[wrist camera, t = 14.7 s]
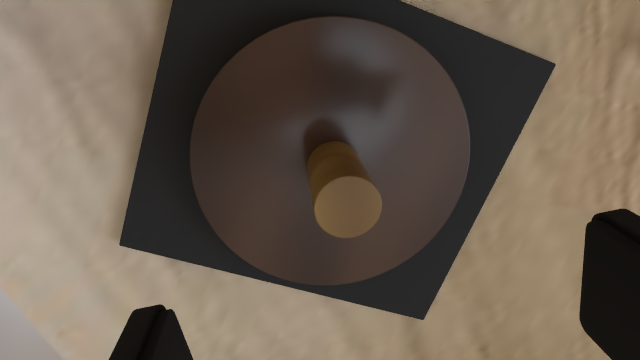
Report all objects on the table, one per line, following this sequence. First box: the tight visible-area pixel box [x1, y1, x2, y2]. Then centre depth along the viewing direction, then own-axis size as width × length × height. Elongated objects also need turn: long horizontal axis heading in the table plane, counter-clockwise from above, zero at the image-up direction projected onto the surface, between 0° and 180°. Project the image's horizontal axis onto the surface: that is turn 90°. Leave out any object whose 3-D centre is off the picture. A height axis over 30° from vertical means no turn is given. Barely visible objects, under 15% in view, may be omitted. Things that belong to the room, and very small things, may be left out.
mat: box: [120, 0, 556, 320], centre depth 22 cm, size 18×16×1 cm
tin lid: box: [189, 16, 470, 285], centre depth 19 cm, size 14×14×6 cm
